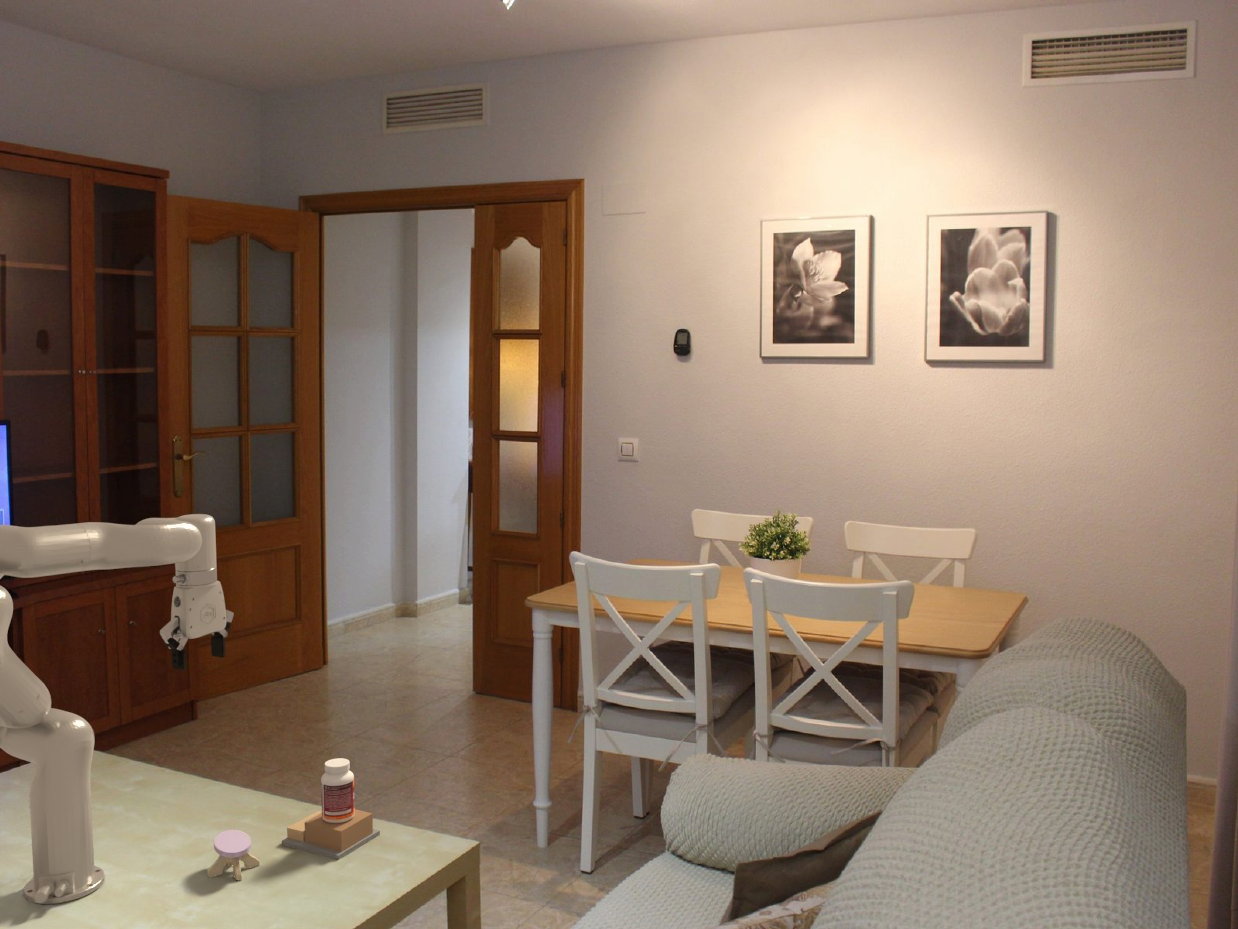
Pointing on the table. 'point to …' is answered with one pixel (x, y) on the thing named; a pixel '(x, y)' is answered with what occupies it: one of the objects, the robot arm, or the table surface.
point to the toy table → (232, 852)
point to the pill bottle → (337, 791)
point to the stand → (331, 834)
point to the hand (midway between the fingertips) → (199, 662)
